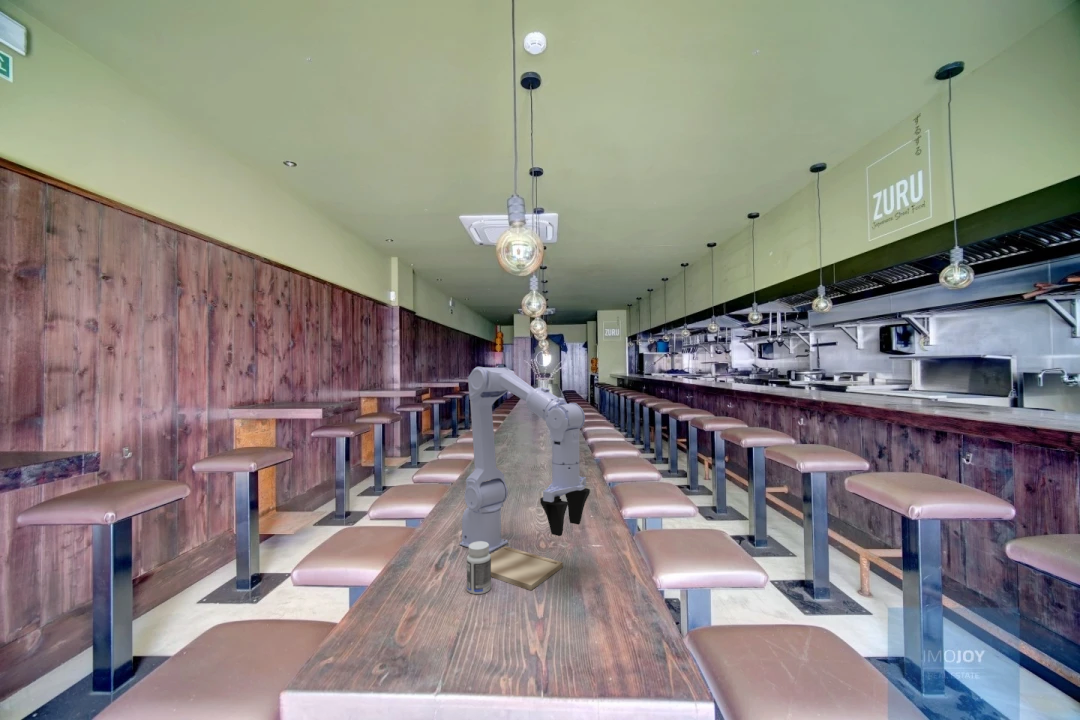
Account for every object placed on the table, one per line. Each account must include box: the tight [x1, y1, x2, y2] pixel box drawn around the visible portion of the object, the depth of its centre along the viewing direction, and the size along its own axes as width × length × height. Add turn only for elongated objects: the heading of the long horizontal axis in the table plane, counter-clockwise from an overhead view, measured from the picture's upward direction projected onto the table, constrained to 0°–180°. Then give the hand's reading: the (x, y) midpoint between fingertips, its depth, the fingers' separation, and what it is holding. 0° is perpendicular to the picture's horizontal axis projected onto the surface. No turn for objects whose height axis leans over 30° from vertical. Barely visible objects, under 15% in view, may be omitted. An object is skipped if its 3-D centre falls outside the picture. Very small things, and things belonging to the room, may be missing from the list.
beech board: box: [489, 546, 564, 591], centre depth 89 cm, size 16×12×1 cm
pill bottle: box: [466, 541, 492, 595], centre depth 81 cm, size 5×5×8 cm
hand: (566, 528), depth 85 cm, fingers open, 7 cm apart
